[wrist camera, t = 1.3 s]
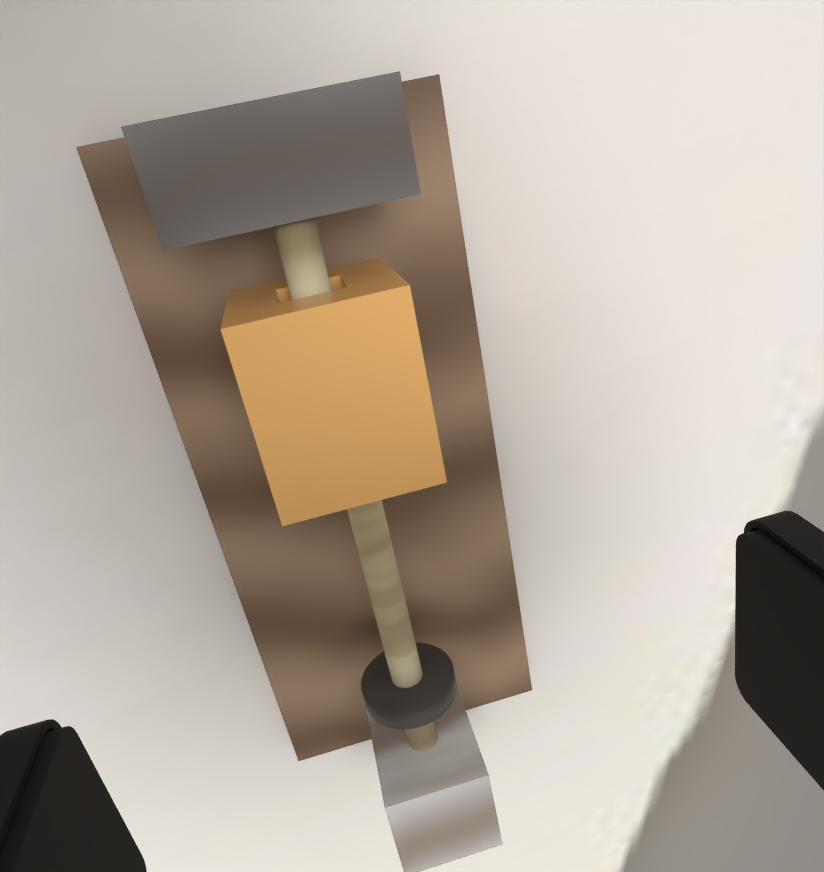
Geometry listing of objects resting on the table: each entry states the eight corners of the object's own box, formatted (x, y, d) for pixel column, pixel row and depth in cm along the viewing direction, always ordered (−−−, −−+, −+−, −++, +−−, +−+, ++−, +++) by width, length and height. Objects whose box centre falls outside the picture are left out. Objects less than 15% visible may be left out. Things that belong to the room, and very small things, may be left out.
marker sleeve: (228, 291, 22) (220, 329, 18) (379, 257, 23) (410, 284, 18) (278, 456, 25) (282, 526, 20) (413, 421, 25) (446, 482, 21)
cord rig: (83, 147, 23) (-7, 148, 15) (432, 76, 24) (512, 45, 16) (297, 744, 34) (308, 917, 27) (525, 676, 36) (597, 821, 28)
